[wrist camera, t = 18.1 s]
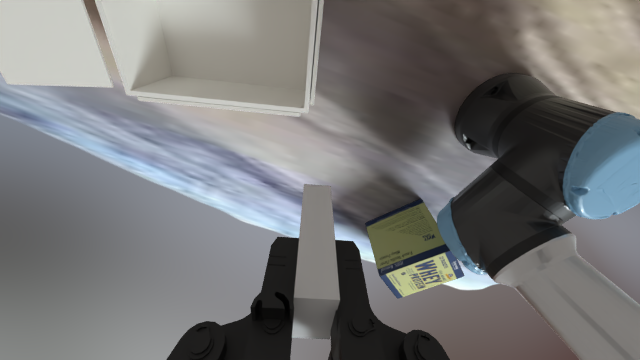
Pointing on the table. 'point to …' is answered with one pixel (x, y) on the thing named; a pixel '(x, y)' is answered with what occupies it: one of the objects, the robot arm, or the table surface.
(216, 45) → the carton
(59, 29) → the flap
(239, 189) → the table surface
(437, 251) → the protein box
